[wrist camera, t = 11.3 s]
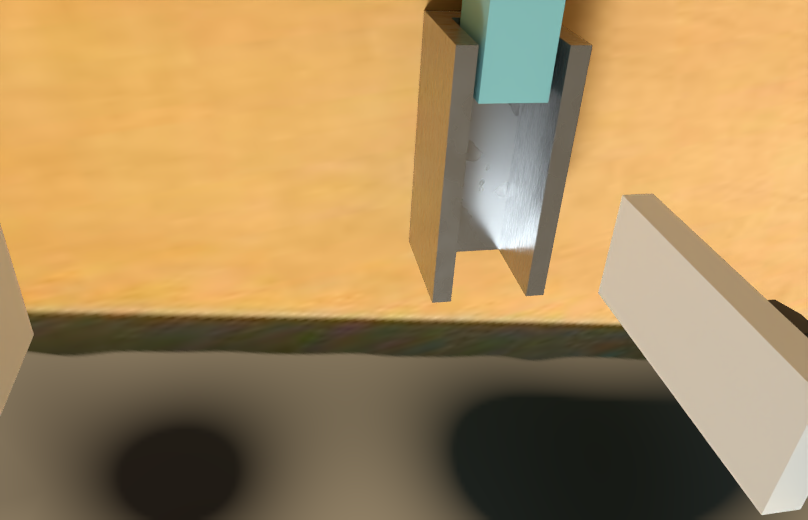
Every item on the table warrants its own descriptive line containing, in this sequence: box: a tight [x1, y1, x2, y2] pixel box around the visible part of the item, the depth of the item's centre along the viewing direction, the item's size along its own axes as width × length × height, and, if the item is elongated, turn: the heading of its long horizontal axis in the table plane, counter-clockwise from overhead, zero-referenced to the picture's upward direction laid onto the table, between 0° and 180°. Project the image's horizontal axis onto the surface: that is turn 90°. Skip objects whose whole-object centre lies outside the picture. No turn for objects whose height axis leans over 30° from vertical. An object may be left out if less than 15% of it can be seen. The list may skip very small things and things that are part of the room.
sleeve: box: [409, 10, 592, 303], centre depth 43 cm, size 7×16×8 cm, turn 177°
